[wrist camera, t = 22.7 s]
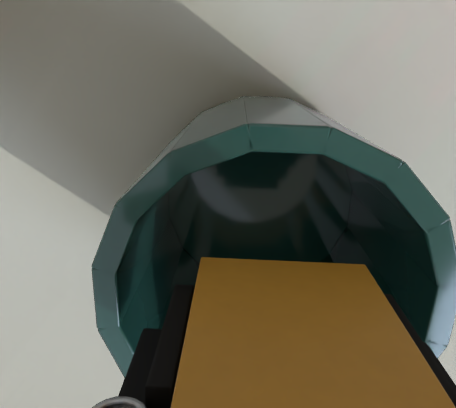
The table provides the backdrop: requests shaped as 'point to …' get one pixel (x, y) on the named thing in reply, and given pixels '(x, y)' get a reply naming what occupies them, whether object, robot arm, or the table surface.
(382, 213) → the canister
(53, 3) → the table surface
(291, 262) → the block
